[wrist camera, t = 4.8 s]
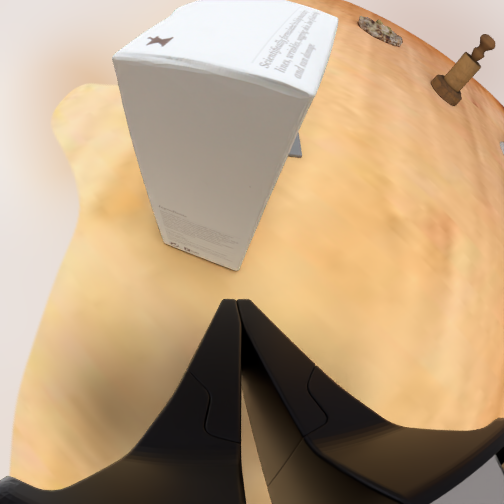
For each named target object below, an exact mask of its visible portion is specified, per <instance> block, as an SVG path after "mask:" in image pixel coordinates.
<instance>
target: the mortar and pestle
mask: <svg viewBox="0 0 504 504" xmlns="http://www.w3.org/2000/svg"><path fill="white" fill-rule="evenodd" d="M494 48H495V41H494V40H493V39H492V38H491V37H490V36H489V35H487V34H483V35H482V36H481V37H480V45H479V47H477V48H476V47H475V48H474V50H473V52H472V55H470V54H468V53H467V52H465V53H464V54H463V55H462V57H461V58H460V59H459V60H458V62H457V63H456V64H455V65H454V66H453V67H452V69H451V70H450V71H449V72H448V73H447V74H446V75H445V76H444V75H437V76H436V77H435V78H434V79H433V80H432V82H431V84H432V86H433V88H434V89H435V91H436V92H437V93H438V94H439V95H440V96H441V97H442V98H443V99H444V100H445V101H446V102H448V103H449V104H451V105H453V106H455V105H457V104H458V102H459V101H460V100H461V99H462V97H461V92H460V90H461V89H462V88H463V87H464V86H465V85H466V83H467V82H468V81H469V80H470V79H471V78H472V77H473V76H474V75H475V74H476V72H477V71H478V70H479V69H480V68H481V66H480V65H479V63H478V62H477V61H478V60H480V59H482V58H483V57H484V52H485V51H488V50H492V49H494Z"/></svg>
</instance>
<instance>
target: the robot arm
mask: <svg viewBox="0 0 504 504" xmlns="http://www.w3.org/2000/svg"><path fill="white" fill-rule="evenodd" d="M241 386H242V390H243V395H244V399H245V403H246V407H247V411H248V415H249V420H250V424H251V428H252V432H253V436H254V440H255V443H256V447H257V451H258V455H259V459H260V462H261V466H262V470H263V474H264V477H265V481H266V484H267V487H268V492H269V495H270V499H271V502H272V504H504V418H497V419H495V420H494V421H493V422H492V423H490V424H489V425H488V426H486V427H484V428H481V429H477V430H471V431H451V430H431V429H419V428H408V427H403V426H399V425H396V424H393V423H391V422H389V421H387V420H386V419H384V418H383V417H381V416H380V415H378V414H377V413H375V412H374V411H373V410H371V409H370V408H368V407H367V406H366V405H364V404H363V403H361V402H360V401H359V400H357V399H356V398H355V397H353V396H352V395H350V394H349V393H348V392H347V391H345V390H344V389H343V388H341V387H340V386H339V385H338V384H336V383H335V382H334V381H333V380H332V379H331V378H330V377H329V376H327V375H326V374H325V373H324V372H323V371H322V370H321V369H320V368H319V367H318V366H315V363H313V362H312V361H311V360H310V359H309V358H308V357H307V356H306V355H305V354H304V353H303V352H302V351H301V350H300V349H299V348H298V347H297V346H296V345H295V344H294V343H293V342H292V341H291V340H290V339H289V338H288V337H287V336H286V335H285V334H284V333H283V332H282V331H281V330H280V329H279V328H278V327H277V326H276V325H275V324H274V323H273V322H272V321H271V320H270V319H269V318H268V317H267V316H266V315H265V314H264V313H263V312H262V311H261V310H260V309H259V308H258V307H257V306H256V305H255V304H254V303H253V302H252V301H251V300H249V299H238V300H237V301H236V300H235V299H223V300H222V301H221V303H220V305H219V307H218V309H217V311H216V313H215V315H214V317H213V319H212V321H211V323H210V325H209V327H208V329H207V331H206V333H205V335H204V337H203V338H202V340H201V342H200V344H199V346H198V348H197V350H196V352H195V354H194V356H193V358H192V360H191V362H190V364H189V366H188V368H187V371H186V372H185V373H184V375H183V377H182V379H181V381H180V383H179V385H178V386H177V388H176V390H175V392H174V394H173V395H172V397H171V398H170V400H169V401H168V403H167V404H166V406H165V407H164V408H163V410H162V411H161V413H160V414H159V415H158V417H157V418H156V419H155V421H154V422H153V423H152V425H151V426H150V427H149V429H148V430H147V431H146V433H145V434H144V435H143V437H142V438H141V439H140V441H139V442H138V443H137V444H136V446H135V447H134V448H133V449H132V450H131V451H130V452H129V453H128V454H127V455H126V456H124V457H123V458H122V459H120V460H118V461H117V462H115V463H113V464H111V465H110V466H108V467H106V468H104V469H102V470H100V471H99V472H97V473H95V474H93V475H91V476H89V477H87V478H85V479H83V480H81V481H79V482H77V483H75V484H73V485H71V486H69V487H66V488H63V489H60V490H52V491H51V490H42V489H38V488H35V487H33V486H31V485H29V484H27V483H24V482H22V481H20V480H18V479H16V478H13V477H10V476H6V477H5V478H3V479H1V480H0V504H246V498H245V490H244V482H243V474H242V463H241Z"/></svg>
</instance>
